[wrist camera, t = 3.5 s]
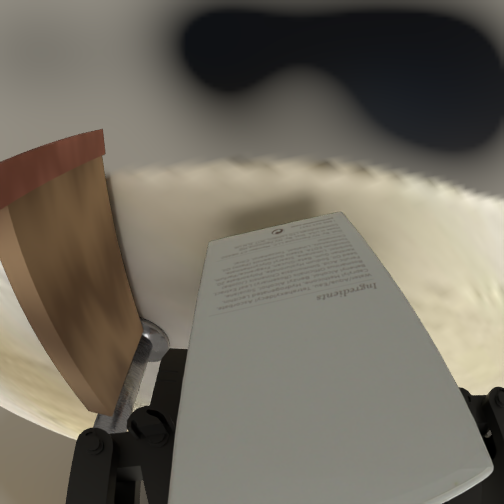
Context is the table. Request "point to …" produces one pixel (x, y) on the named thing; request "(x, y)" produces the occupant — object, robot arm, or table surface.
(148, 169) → the table surface
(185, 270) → the table surface
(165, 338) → the pivot post
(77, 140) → the gate
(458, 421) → the small box
